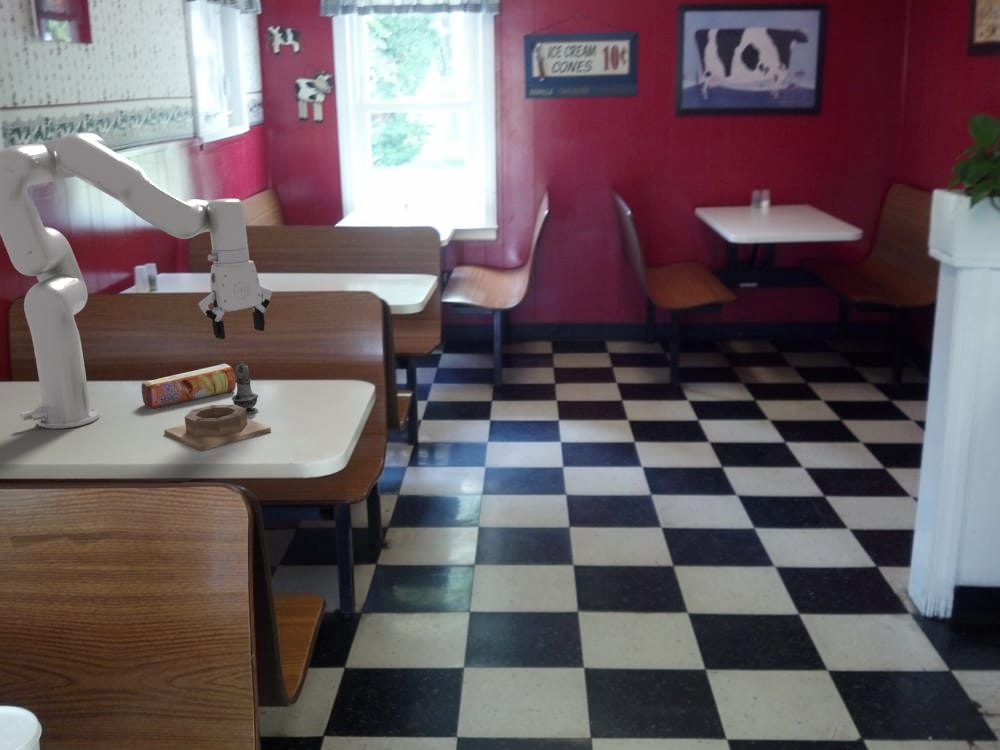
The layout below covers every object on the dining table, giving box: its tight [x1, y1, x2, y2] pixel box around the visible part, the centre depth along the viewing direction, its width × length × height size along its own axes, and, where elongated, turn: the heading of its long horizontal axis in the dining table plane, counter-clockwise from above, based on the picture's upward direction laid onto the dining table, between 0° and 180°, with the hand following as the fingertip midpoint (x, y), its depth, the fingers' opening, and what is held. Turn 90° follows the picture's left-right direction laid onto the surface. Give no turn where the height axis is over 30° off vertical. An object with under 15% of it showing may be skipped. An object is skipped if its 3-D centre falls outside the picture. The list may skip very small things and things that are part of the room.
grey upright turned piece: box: [231, 360, 259, 416], centre depth 227 cm, size 6×6×12 cm
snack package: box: [140, 363, 237, 409], centre depth 240 cm, size 21×7×7 cm, turn 129°
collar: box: [163, 403, 272, 452], centre depth 214 cm, size 16×16×4 cm
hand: (240, 334), depth 224 cm, fingers open, 9 cm apart
